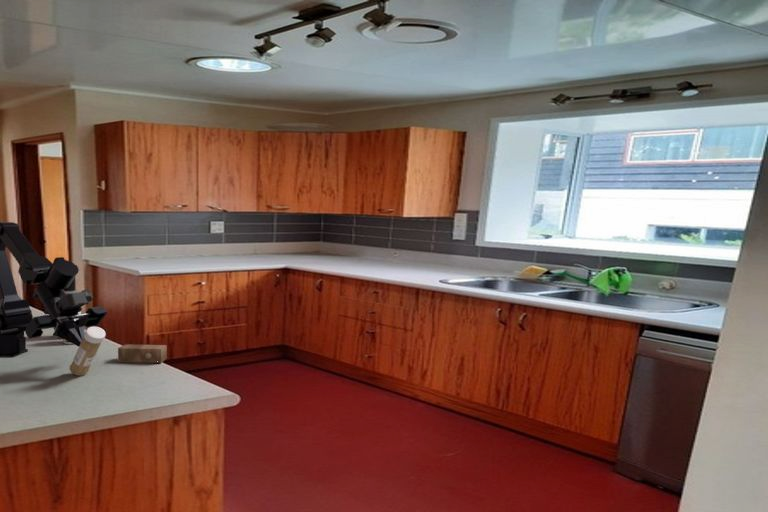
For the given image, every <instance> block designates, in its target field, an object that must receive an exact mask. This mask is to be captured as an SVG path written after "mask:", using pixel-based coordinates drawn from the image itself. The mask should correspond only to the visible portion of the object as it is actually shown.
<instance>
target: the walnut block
mask: <svg viewBox="0 0 768 512" xmlns="http://www.w3.org/2000/svg"><path fill="white" fill-rule="evenodd" d="M167 347H168V346H167V345H166V344H123V345H121V346H119V347H118V348H117V361H118V363H148V364H149V363H153V364H154V363H156V364H157V363H159V364H161V363H163V362H164V361H165V360H166V359H167V357H168V356H167V353H168V349H167ZM157 361H158V362H157Z"/></svg>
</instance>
